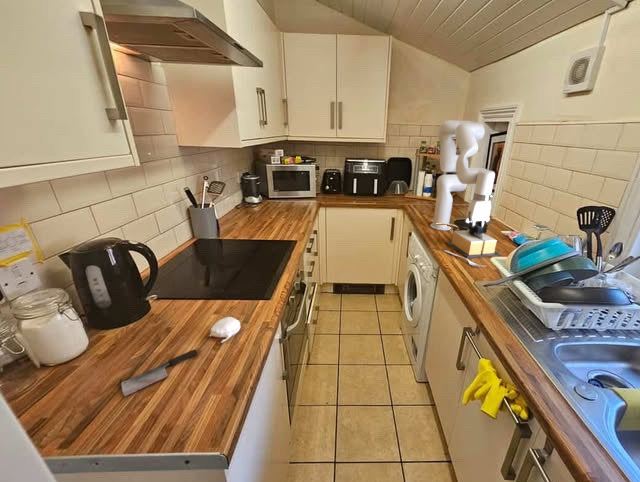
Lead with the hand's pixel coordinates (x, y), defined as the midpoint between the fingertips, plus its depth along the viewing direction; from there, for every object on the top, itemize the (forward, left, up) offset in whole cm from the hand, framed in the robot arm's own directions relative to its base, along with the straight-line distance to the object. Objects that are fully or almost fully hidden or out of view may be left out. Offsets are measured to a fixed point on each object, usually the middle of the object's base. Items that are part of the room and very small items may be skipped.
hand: (474, 233), depth 149 cm
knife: (0, 0, -6) cm, 6 cm away
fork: (+11, -12, -8) cm, 18 cm away
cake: (0, 0, -8) cm, 8 cm away
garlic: (+45, -110, -8) cm, 119 cm away
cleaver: (+58, -122, -8) cm, 135 cm away
